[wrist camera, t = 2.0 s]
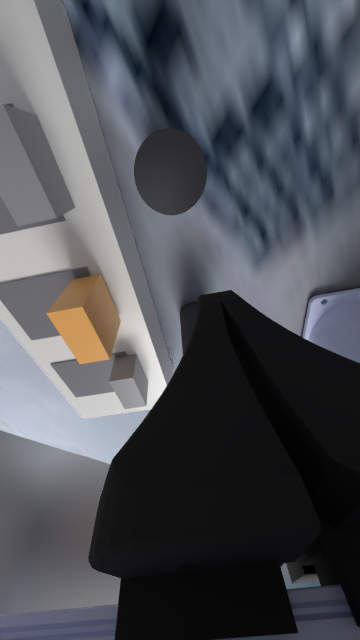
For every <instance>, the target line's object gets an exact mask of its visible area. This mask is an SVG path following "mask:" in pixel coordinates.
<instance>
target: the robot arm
mask: <svg viewBox="0 0 360 640" xmlns="http://www.w3.org/2000/svg"><path fill="white" fill-rule="evenodd" d="M324 299H325V300H324ZM198 300H199V306H198V313H197V317H196V321H195V325H194V329H193V331H192V334H191V337H190V340H189V343H188V345H187V348H186V350H185V352H184V355H183V357H182V359H181V361H180V363H179V365H178V367H177V369H176V370H175V372H174V374H173V376H172V378H171V380H170V381H169V383H168V385H167V386H166V388H165V390H164V391H163V393H162V394H161V396H160V397H159V399H158V400H157V401H156V403H155V404H154V406H153V407H152V409H151V410H150V412H149V413H148V415H147V416H146V418H145V419H144V420H143V422H142V423H141V424H140V426H139V427H138V428H137V429H136V431H135V432H134V433H133V434H132V436H131V437H130V438H129V439H128V441H127V442H126V443H125V444H124V446H123V447H122V448H121V449H120V451H119V452H118V453H117V454H116V456H115V457H114V458H113V460H112V462H111V465H110V468H109V471H108V474H107V477H106V480H105V484H104V488H103V491H102V494H101V497H100V501H99V506H98V510H97V515H96V521H95V526H94V531H93V536H92V541H91V547H90V552H89V557H88V558H89V563H90V565H91V567H92V568H93V569H95V570H97V571H100V572H103V573H106V574H109V575H112V576H116V577H119V578H121V584H120V594H119V602H118V605H105V606H94V607H83V608H72V609H60V610H50V611H38V612H27V613H16V614H4V615H0V640H360V288H357V289H351V290H345V291H339V292H334V293H328V294H322V295H316V296H314V297H312V298H311V299H310V300H309V304H308V309H307V314H306V319H305V325H304V330H303V335H302V337H300V336H298V335H297V334H295V333H293V332H291V331H289V330H287V329H286V328H284V327H282V326H281V325H279V324H278V323H276V322H274V321H273V320H271V319H269V318H268V317H266V316H265V315H264V314H262V313H261V312H259V311H258V310H256V309H255V308H254V307H252V306H251V305H250V304H248V303H247V302H246V301H245V300H243V299H242V298H241V297H240V296H238V295H237V294H236V293H234V292H233V291H232V290H228V291H223V292H217V293H212V294H206V295H201V296H200V297H199V298H198ZM322 300H324V301H323V302H321V301H322ZM283 563H286V564H287V567H288V571H289V574H290V578H291V581H292V583H304V582H315V581H320V584H321V586H320V587H308V588H296V589H286V586H285V582H284V579H283V575H282V571H281V566H282V565H283Z"/></svg>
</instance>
